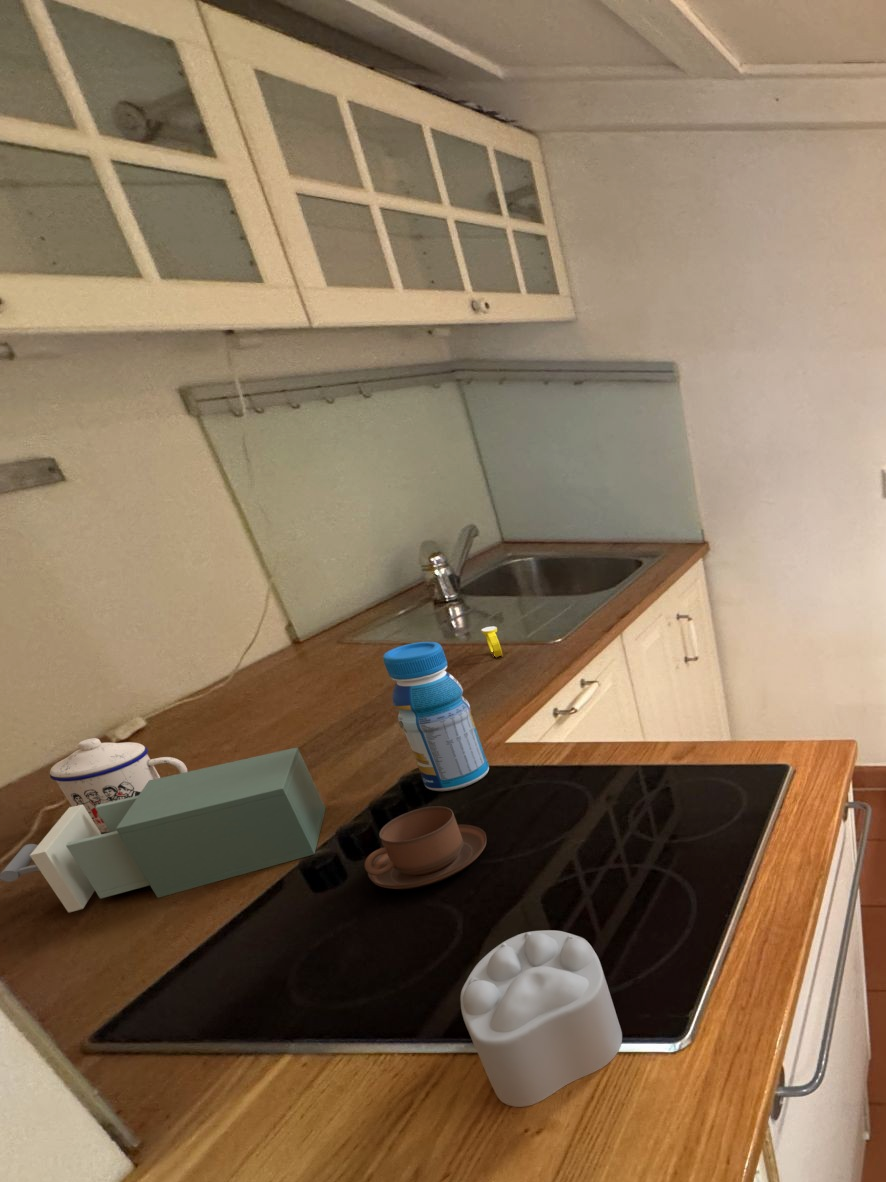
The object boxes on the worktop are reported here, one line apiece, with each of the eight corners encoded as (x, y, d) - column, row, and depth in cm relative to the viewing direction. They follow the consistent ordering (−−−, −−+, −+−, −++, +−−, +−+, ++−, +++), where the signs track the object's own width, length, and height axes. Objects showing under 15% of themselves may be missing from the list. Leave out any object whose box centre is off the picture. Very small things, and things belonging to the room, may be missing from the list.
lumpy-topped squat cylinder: (501, 1122, 61) (467, 1044, 57) (472, 1022, 70) (442, 949, 66) (634, 1050, 66) (611, 975, 63) (591, 967, 76) (569, 897, 72)
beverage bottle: (472, 792, 107) (425, 659, 99) (411, 795, 107) (358, 663, 99) (502, 762, 115) (460, 637, 106) (444, 765, 115) (398, 640, 106)
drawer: (14, 927, 83) (-28, 869, 80) (54, 873, 92) (18, 818, 88) (225, 869, 91) (195, 814, 88) (244, 825, 100) (217, 773, 97)
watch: (486, 653, 158) (478, 626, 155) (501, 650, 159) (493, 623, 157) (492, 661, 154) (483, 633, 151) (508, 658, 155) (499, 630, 153)
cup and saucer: (438, 903, 85) (420, 858, 83) (347, 894, 87) (326, 850, 85) (512, 840, 96) (498, 798, 93) (429, 834, 98) (413, 793, 96)
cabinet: (157, 898, 88) (115, 828, 84) (185, 844, 98) (148, 780, 94) (314, 854, 95) (282, 788, 91) (326, 808, 105) (297, 747, 101)
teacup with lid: (72, 843, 99) (22, 765, 94) (98, 810, 106) (53, 736, 101) (194, 814, 104) (152, 739, 99) (211, 785, 112) (173, 714, 107)
